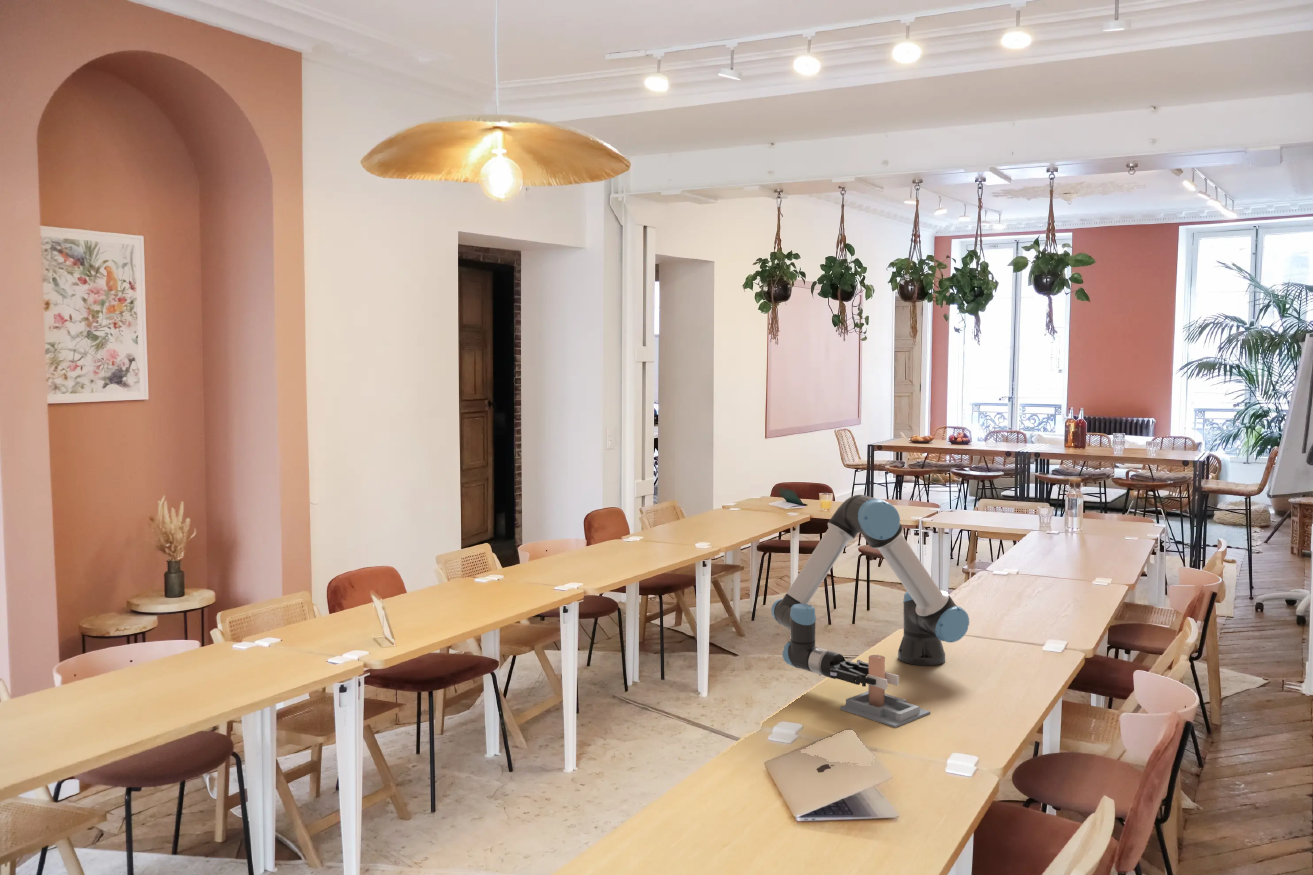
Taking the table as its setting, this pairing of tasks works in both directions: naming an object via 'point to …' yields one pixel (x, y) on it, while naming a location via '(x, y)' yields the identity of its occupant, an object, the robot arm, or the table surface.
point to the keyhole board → (884, 710)
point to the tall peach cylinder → (877, 669)
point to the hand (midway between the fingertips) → (892, 682)
